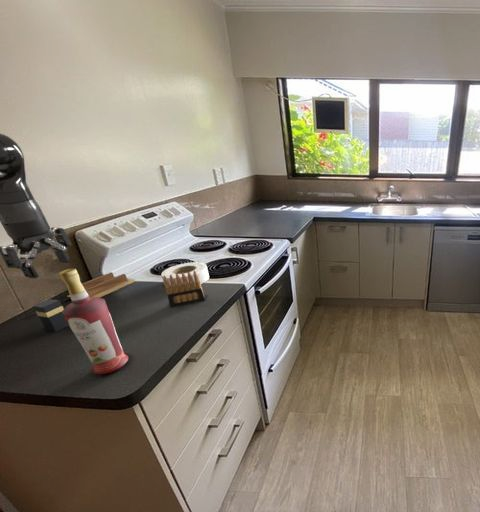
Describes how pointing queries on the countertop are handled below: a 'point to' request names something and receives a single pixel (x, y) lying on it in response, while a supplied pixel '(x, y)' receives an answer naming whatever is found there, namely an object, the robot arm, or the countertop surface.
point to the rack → (105, 284)
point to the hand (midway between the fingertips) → (50, 269)
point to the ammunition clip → (184, 290)
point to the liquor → (92, 326)
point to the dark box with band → (51, 315)
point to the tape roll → (185, 268)
